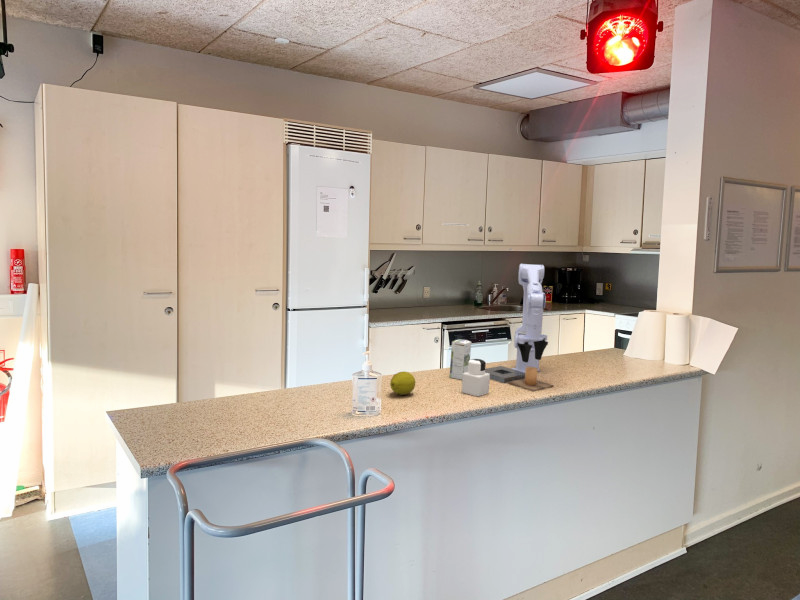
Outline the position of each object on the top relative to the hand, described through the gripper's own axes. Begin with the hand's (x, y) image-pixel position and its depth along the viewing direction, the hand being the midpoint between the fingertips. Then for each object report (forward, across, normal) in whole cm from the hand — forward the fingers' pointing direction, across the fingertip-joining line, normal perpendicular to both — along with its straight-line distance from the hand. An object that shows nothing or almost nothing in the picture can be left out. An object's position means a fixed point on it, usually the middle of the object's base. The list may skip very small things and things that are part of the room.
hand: (531, 360), depth 229 cm
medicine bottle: (+10, -26, +4) cm, 28 cm away
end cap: (+9, 0, 0) cm, 9 cm away
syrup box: (+10, -16, +22) cm, 28 cm away
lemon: (+10, -50, +16) cm, 53 cm away
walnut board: (+9, 0, 0) cm, 9 cm away
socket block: (+9, 0, +14) cm, 16 cm away
